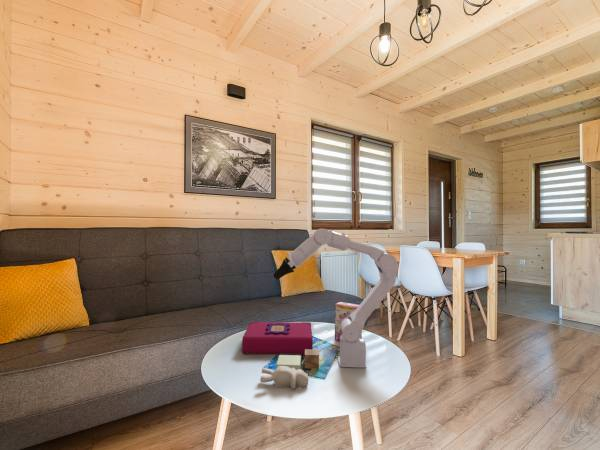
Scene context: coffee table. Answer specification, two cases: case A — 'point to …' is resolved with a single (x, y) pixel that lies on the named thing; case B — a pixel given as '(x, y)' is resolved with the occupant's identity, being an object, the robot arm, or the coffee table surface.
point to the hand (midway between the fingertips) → (276, 275)
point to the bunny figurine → (285, 377)
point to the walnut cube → (312, 358)
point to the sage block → (289, 361)
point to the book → (277, 338)
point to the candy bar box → (343, 316)
